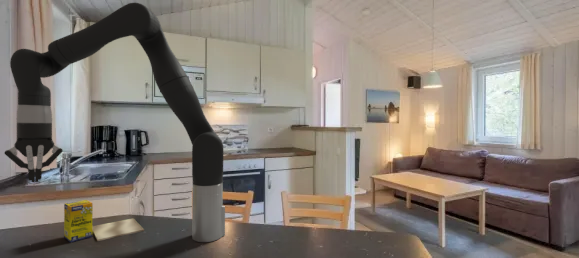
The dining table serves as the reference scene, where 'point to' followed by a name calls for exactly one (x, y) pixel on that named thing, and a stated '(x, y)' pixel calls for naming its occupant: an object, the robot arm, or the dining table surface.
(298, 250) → the dining table surface
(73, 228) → the supplement box
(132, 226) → the birch board
